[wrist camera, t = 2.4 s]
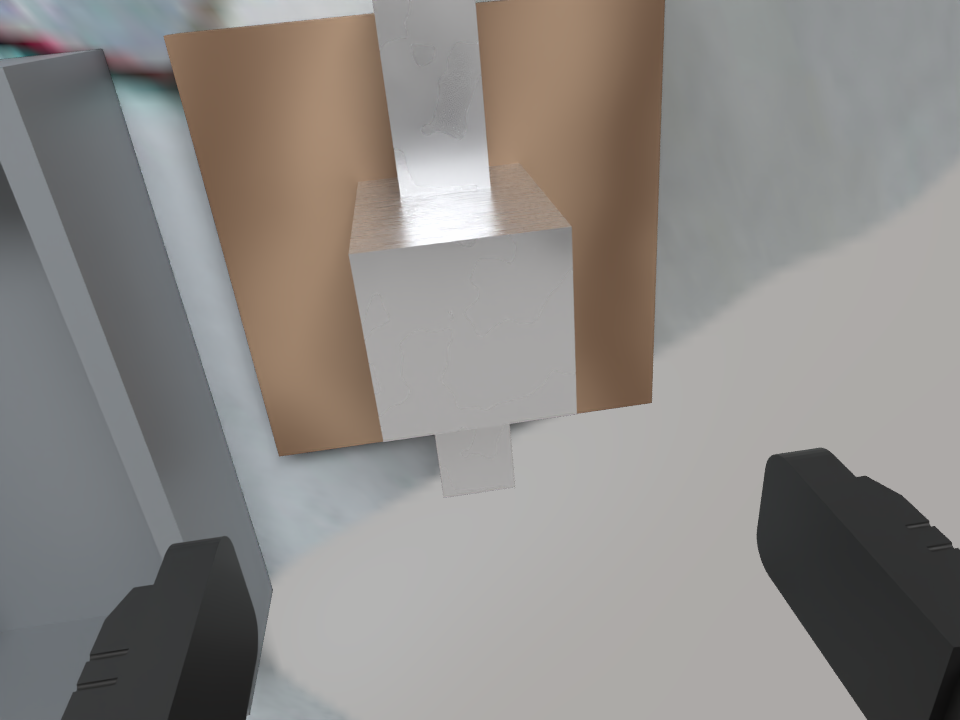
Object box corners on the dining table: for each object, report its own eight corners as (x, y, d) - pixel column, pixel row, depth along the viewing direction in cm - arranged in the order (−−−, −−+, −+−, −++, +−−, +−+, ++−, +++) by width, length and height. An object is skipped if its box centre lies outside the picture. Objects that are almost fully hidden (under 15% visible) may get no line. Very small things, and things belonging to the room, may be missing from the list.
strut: (323, -23, 19) (295, -33, 13) (507, -41, 19) (563, -58, 13) (405, 460, 26) (412, 597, 20) (536, 441, 27) (581, 571, 21)
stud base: (647, -15, 21) (741, -20, 16) (638, 383, 28) (702, 480, 22) (177, 33, 20) (100, 46, 15) (284, 433, 27) (258, 548, 21)
